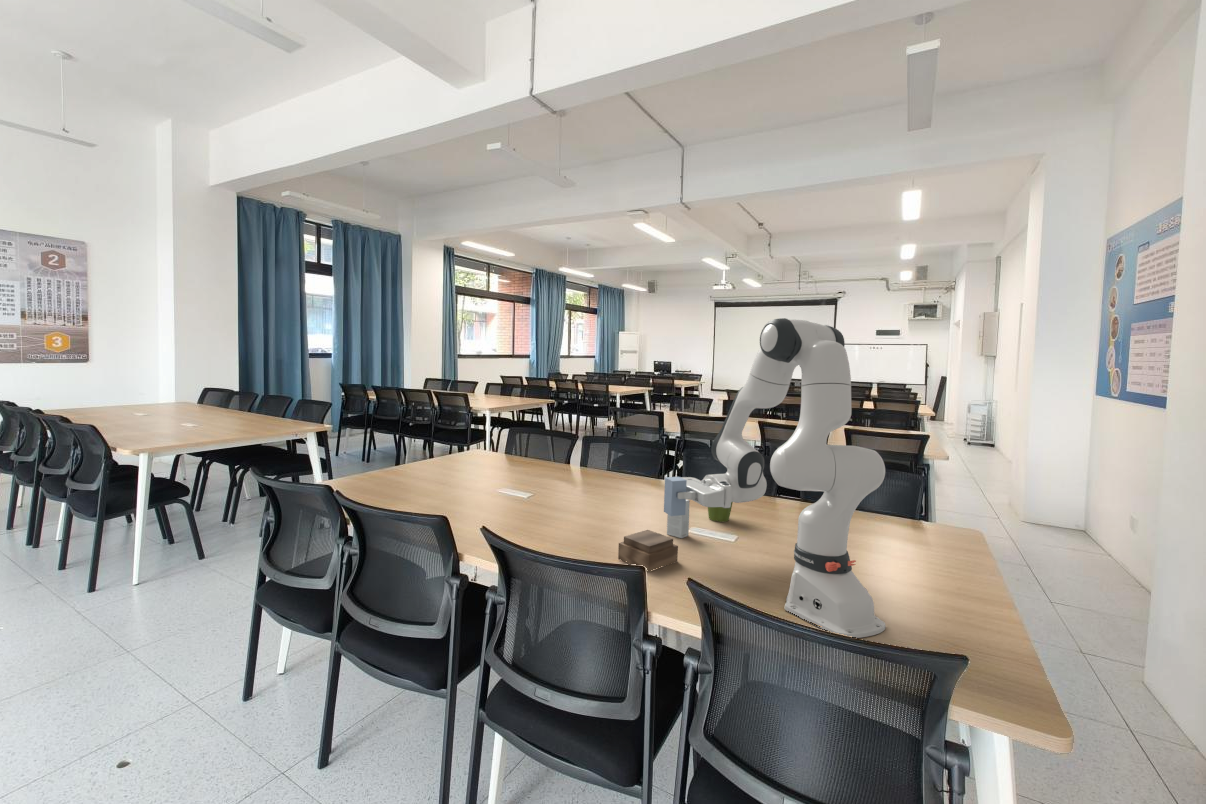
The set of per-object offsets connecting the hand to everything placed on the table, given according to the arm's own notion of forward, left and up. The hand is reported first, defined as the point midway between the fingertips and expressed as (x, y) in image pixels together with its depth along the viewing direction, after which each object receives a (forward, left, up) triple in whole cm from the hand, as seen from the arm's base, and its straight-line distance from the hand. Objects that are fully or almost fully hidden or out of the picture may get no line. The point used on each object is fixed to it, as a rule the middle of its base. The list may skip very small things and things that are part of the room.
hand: (672, 492), depth 155 cm
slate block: (0, -1, -6) cm, 6 cm away
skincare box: (+19, -13, -20) cm, 31 cm away
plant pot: (+30, -36, -20) cm, 52 cm away
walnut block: (+2, +6, -20) cm, 21 cm away
